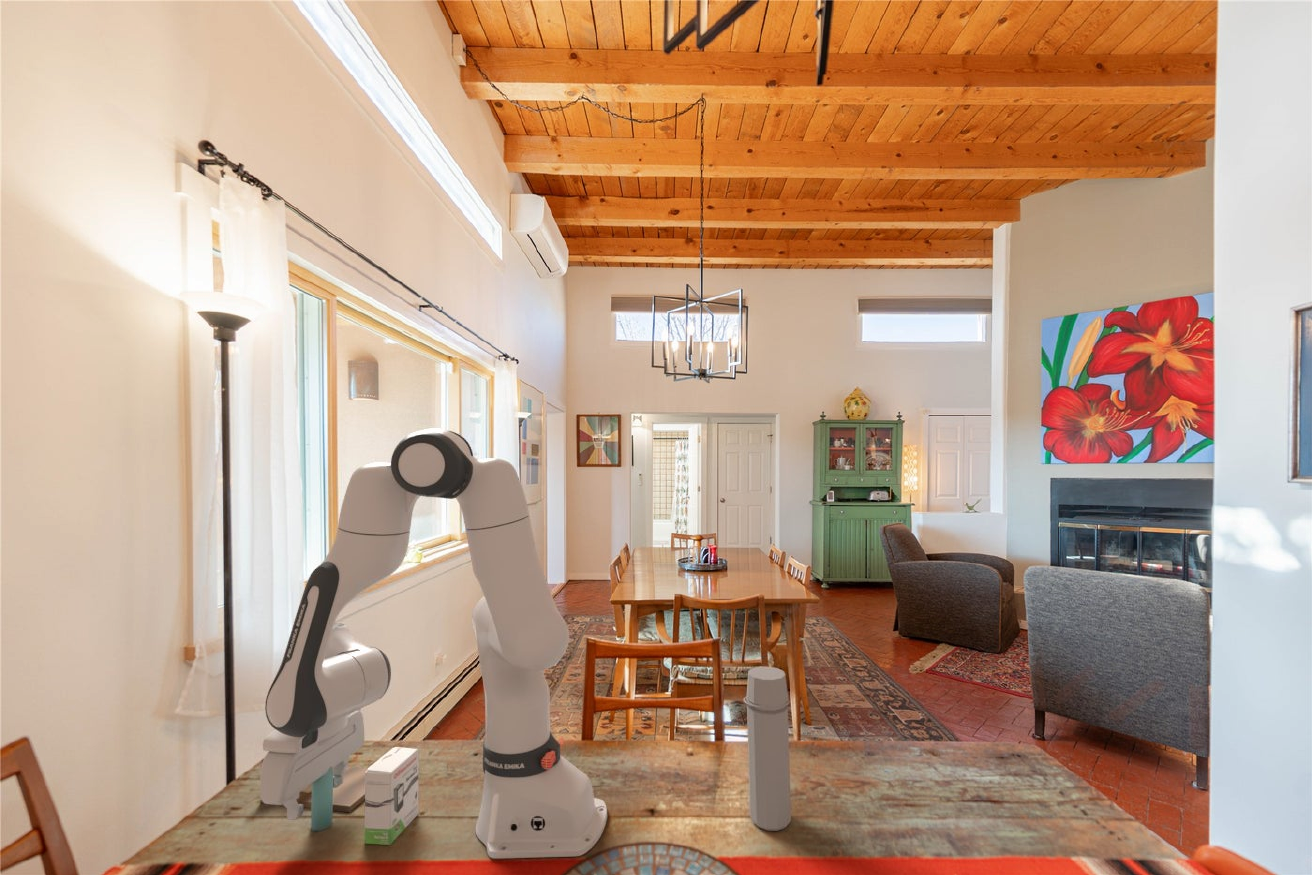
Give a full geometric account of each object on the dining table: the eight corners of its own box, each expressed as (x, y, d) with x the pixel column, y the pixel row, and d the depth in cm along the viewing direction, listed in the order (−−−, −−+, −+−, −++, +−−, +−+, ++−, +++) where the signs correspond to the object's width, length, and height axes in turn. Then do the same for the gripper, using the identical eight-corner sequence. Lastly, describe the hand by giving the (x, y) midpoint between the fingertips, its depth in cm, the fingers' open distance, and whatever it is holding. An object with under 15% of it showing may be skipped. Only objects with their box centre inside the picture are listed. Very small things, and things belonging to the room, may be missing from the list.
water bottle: (800, 830, 93) (795, 679, 95) (755, 836, 92) (751, 682, 93) (779, 798, 102) (775, 660, 104) (738, 803, 101) (735, 663, 102)
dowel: (336, 819, 98) (337, 761, 99) (322, 831, 95) (323, 771, 96) (320, 818, 99) (321, 760, 100) (306, 829, 96) (307, 770, 96)
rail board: (392, 775, 112) (392, 745, 113) (350, 811, 101) (350, 777, 101) (311, 768, 116) (311, 738, 116) (260, 802, 104) (261, 769, 104)
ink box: (390, 846, 91) (390, 772, 92) (362, 844, 92) (363, 771, 93) (419, 814, 100) (419, 746, 100) (394, 812, 100) (394, 745, 101)
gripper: (344, 694, 108) (342, 767, 107) (253, 745, 88) (249, 836, 87) (374, 696, 107) (372, 770, 106) (289, 748, 87) (285, 840, 86)
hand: (316, 800), depth 97 cm, fingers open, 8 cm apart
